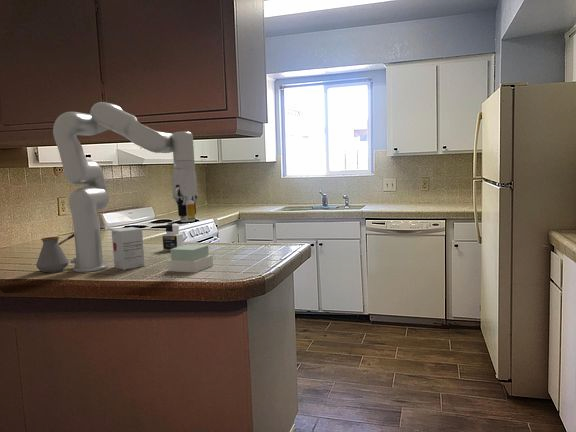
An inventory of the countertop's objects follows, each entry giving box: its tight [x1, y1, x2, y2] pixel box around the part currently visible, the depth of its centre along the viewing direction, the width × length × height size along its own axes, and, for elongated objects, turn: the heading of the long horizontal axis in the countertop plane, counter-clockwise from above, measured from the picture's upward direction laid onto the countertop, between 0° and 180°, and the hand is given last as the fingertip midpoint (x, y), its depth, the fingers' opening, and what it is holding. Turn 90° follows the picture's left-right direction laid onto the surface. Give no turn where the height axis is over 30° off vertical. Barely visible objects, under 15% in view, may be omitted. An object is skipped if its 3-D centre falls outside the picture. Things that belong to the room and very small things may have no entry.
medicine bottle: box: [162, 223, 185, 252], centre depth 232 cm, size 7×7×12 cm
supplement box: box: [111, 226, 146, 271], centre depth 195 cm, size 9×9×15 cm
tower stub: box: [166, 244, 214, 273], centre depth 187 cm, size 12×12×8 cm
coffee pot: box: [35, 233, 74, 273], centre depth 197 cm, size 21×12×15 cm, turn 143°
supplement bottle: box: [179, 195, 196, 223], centre depth 185 cm, size 5×5×10 cm
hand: (187, 214), depth 185 cm, fingers closed on supplement bottle, 5 cm apart
